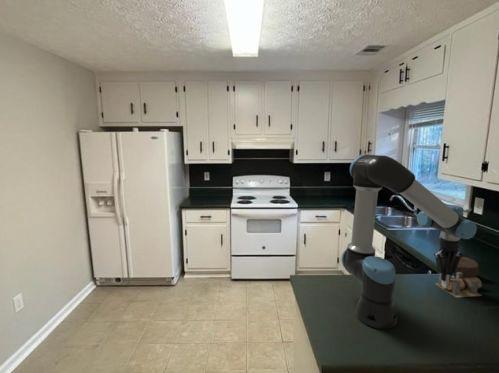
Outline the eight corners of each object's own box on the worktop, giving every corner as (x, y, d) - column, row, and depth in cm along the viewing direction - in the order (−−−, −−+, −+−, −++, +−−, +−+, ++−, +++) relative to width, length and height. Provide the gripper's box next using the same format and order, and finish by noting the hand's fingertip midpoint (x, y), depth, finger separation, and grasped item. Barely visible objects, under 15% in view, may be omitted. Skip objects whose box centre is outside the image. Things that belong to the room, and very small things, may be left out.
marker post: (452, 283, 136) (453, 277, 136) (449, 282, 138) (450, 276, 137) (455, 283, 136) (456, 277, 136) (452, 282, 138) (453, 275, 137)
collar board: (455, 299, 124) (457, 284, 123) (433, 285, 137) (435, 271, 136) (482, 297, 125) (483, 283, 124) (457, 283, 138) (459, 270, 137)
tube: (473, 287, 134) (470, 276, 135) (482, 289, 129) (480, 277, 130) (442, 289, 132) (440, 278, 133) (451, 291, 127) (449, 279, 128)
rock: (451, 271, 141) (445, 255, 148) (451, 282, 146) (446, 265, 153) (481, 270, 135) (474, 253, 142) (480, 281, 141) (473, 264, 148)
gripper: (443, 241, 122) (438, 291, 126) (469, 240, 124) (463, 290, 127) (431, 236, 130) (426, 283, 133) (455, 235, 131) (450, 282, 135)
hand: (444, 286), depth 130 cm, fingers closed
